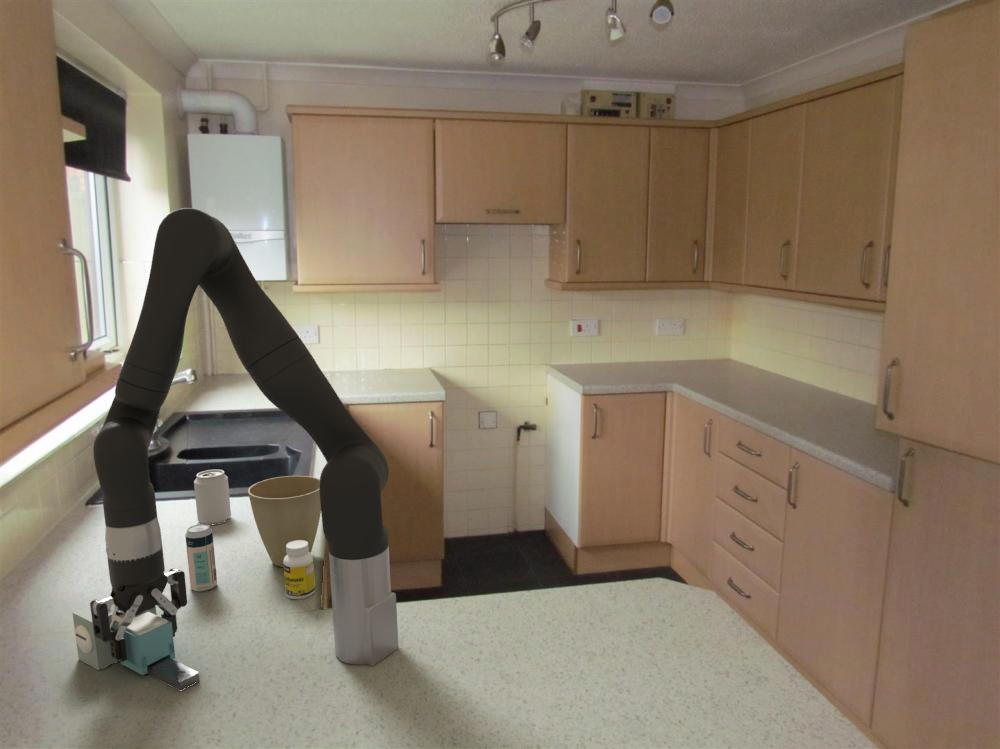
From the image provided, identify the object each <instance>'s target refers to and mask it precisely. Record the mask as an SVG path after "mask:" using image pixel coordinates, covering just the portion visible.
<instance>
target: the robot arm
mask: <svg viewBox="0 0 1000 749" xmlns="http://www.w3.org/2000/svg"><path fill="white" fill-rule="evenodd" d="M250 269H251V268H249V266H248V264H247V262H246V260H245V258H244V257H243V255H242V253H241V252H240V249H239V248H238V246H237V243H236V241H235V239H234V237H233V235H232V233H231V232H230V230H229V229H228V228H227V226H226V225H225V224H224V223H223V222H221V220H219V219H218V218H216V217H214V216H212V215H210V214H209V213H207V212H205V211H203V210H200V209H197V208H192V207H183V208H179V209H175V210H173V211H171V212H170V213H168V214H167V215H166V216H165V217H164V218H163V219H162V221H161V222H160V224H159V226H158V229H157V232H156V235H155V240H154V247H153V254H152V258H151V265H150V271H149V277H148V283H147V285H146V290H145V295H144V298H143V303H142V307H141V311H140V314H139V318H138V321H137V324H136V328H135V331H134V333H133V336H132V339H131V342H130V344H129V348H128V351H127V354H126V356H125V359H124V361H123V364H122V366H121V369H120V372H119V375H118V378H117V381H116V385H115V390H114V394H115V395H114V397H113V401H112V403H111V405H110V407H109V411H108V412H107V416H106V418H105V421H104V423H103V424H102V427H101V429H100V431H99V432H98V433H97V435H96V437H95V439H94V442H93V448H92V449H93V460H94V466H95V470H96V475H97V478H98V483H99V486H100V489H101V492H102V505H103V506H102V507H103V515H104V523H105V525H104V526H105V531H104V532H105V535H104V537H105V539H104V540H105V541H104V542H105V552H106V556H107V558H106V559H107V565H108V572H109V573H108V574H109V580H110V584H111V592H110V595H109V596H108V597H106V598H103V599H101V600H98V599H93V600H91V602H90V603H89V606H90V608H91V615H92V623H93V630H94V636H95V637H96V638H98V639H100V640H102V641H104V642H108V641H109V642H110V650H111V656H112V657H113V658H115V659H116V660H118V662H123V661H125V660H127V653H126V644H125V638H123V636H124V634H125V631H126V629H127V627H128V625H130V624H131V623H132V620H133V618H134V616H137V615H139V614H141V613H142V612H144V611H145V610H150V609H152V608H155V605H156V607H158V609H160V610H161V611H162V612H163V613H161V614H160V617H161V618H164V619H166V620H168V621H170V622H172V631H173V638H174V637H175V636H176V633H177V632H178V623H177V613H178V610H180V609H181V608H183V607H184V608H185V607H186V606H187V604H188V595H187V585H186V574H185V572H184V571H182V570H180V569H178V568H175V567H171V568H170V569H169V571H168V572H166V573H165V568H166V566H165V559H164V550H163V549H164V548H163V539H162V531H161V526H160V522H159V518H158V512H157V504H156V503H157V501H156V493H155V489H154V485H153V483H151V479H150V477H151V476H150V469H149V468H150V467H149V466H150V465H149V452H148V451H149V448H150V445H151V442H152V438H153V435H154V433H155V432H154V431H155V429H156V425H157V422H158V418H159V416H160V412H161V409H162V406H163V405H164V403H165V401H166V399H167V397H168V395H169V391H170V389H171V387H172V384H173V380H174V378H175V376H176V373H177V369H178V367H179V363H180V359H181V356H182V351H183V346H184V345H183V344H184V338H185V337H184V336H185V331H186V330H185V329H186V324H187V317H188V313H189V309H190V306H191V303H192V300H193V297H194V296H195V293H196V291H197V289H198V286H199V287H200V288H201V289H202V291H203V292H204V294H206V297H208V298H209V300H210V301H211V302H212V304H213V305H214V307H215V308H216V310H217V311H218V313H219V314H220V316H221V319H222V321H223V324H224V326H225V329H226V331H227V334H228V336H229V339H230V341H231V344H232V346H233V349H234V351H235V353H236V355H237V356H238V359H239V361H240V362H241V364H242V365H243V367H244V369H245V370H246V372H247V373H248V375H250V377H251V380H252V381H253V382H254V384H256V387H258V389H259V391H260V392H261V393H262V394H263V396H265V397H266V399H267V400H268V401H269V402H270V403H272V405H273V406H275V408H277V409H278V410H280V411H281V412H282V413H284V414H285V415H286V416H287V417H289V418H290V419H292V420H293V421H294V422H296V424H298V425H299V426H300V427H301V428H302V429H303V430H305V432H306V433H307V434H308V436H310V438H311V440H313V442H314V443H315V444H316V446H317V448H318V449H319V450H320V452H321V454H322V456H323V457H324V460H326V464H325V466H324V467H323V468H322V470H321V473H320V477H319V479H320V485H319V490H320V504H321V514H320V515H321V522H322V530H323V535H324V538H325V539H326V541H327V547H328V557H329V559H328V560H329V573H330V574H329V577H330V594H331V607H332V620H333V622H332V624H333V636H334V637H333V638H334V651H335V656H336V658H337V659H338V660H340V661H341V662H343V663H346V664H350V665H369V666H371V667H373V666H375V665H376V664H378V663H379V662H380V661H383V659H385V658H386V657H388V656H389V655H390V654H392V653H394V652H395V651H397V650H398V649H399V632H398V631H399V629H398V614H397V613H398V610H397V608H398V607H397V595H396V592H392V589H391V587H392V586H391V569H390V546H389V531H388V529H387V527H386V526H385V525H384V522H383V521H384V520H383V511H382V510H383V509H382V492H383V490H384V489H385V487H386V486H387V483H388V480H389V476H390V470H389V463H388V460H387V459H386V458H387V457H386V456H385V455H384V453H383V451H382V450H381V449H380V448H379V447H378V445H377V444H376V443H375V441H373V440H372V438H371V437H370V436H369V435H368V434H367V433H366V431H365V430H364V429H363V428H362V426H361V425H360V424H359V423H358V422H357V421H356V420H355V418H354V417H353V416H352V415H351V413H350V412H349V411H348V409H347V408H346V406H345V405H344V404H343V402H342V400H341V398H340V397H339V395H338V393H337V391H336V390H335V389H334V387H333V386H332V384H331V383H330V381H329V380H328V378H327V377H326V374H324V372H323V371H322V369H321V368H320V366H319V365H318V363H317V361H316V359H315V358H314V357H313V355H312V354H311V351H310V350H309V349H308V347H307V346H306V344H305V343H304V342H303V340H302V339H301V337H300V336H299V335H298V333H297V332H296V330H295V329H294V328H293V326H292V325H291V323H289V321H288V320H287V318H286V317H285V316H284V315H283V313H282V312H281V311H280V309H279V308H278V307H277V306H276V305H275V303H274V302H273V301H272V299H270V297H269V296H268V294H266V293H265V291H264V289H262V287H261V286H260V284H259V283H258V282H257V280H256V278H255V276H254V275H253V273H252V272H251V270H250ZM167 584H168V585H169V589H170V598H171V599H169V598H168V597H167V596H165V595H164V594H163V592H164V591H165V590H166V586H167ZM113 604H114V605H116V608H115V610H114V612H113V615H112V622H111V624H109V616H108V613H110V612H111V606H112V605H113ZM123 612H125V613H126V614H125V616H124V617H123Z"/></svg>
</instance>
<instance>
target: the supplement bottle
mask: <svg viewBox="0 0 1000 749" xmlns="http://www.w3.org/2000/svg"><path fill="white" fill-rule="evenodd" d="M308 551H309V546H308V542H307V541H304V540H296V541H292V542H289V543H288V544H287V545H286V552H287V555H286V556H285V557H284V560H283V565H284V567H283V573H284V575H283V576H284V589H285V596H286V597H287V598H289V599H291V600H301V599H302V600H303V599H306V598H310V596H313V594H314V593H315V592H316V579H315V577H316V576H315V565H314V564H315V563H314V556H313V554H312V552H311V553H310V552H308Z"/></svg>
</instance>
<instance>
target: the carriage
mask: <svg viewBox="0 0 1000 749" xmlns="http://www.w3.org/2000/svg"><path fill="white" fill-rule="evenodd" d="M123 638H125V644H126V653H127V660H125V661H123V662H120V661H119V662H120V664H121V665H122V666H125V667H127V668H129V669H130V670H132V671H134V672H136V673H138V674H140V676H144V675H145V674H147V673H148V672H147V666H148V665H150V664H152V663H154V662H156V661H158V660H160V659H161V658H163V657H165V656H167V657H169V658H171V659H173V660H175V659H176V650H175V643H174V637H173V631H172V622H170V621H168V620H166V619H164V618H161V616H159V615H155V614H152V613H150V612H146V613H144V614H142V615H140V616H137V617H135V618H133V620H132V623H131V624H130V625H128V627H127V629H126V631H125V634H124V636H123Z"/></svg>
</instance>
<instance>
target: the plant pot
mask: <svg viewBox="0 0 1000 749" xmlns="http://www.w3.org/2000/svg"><path fill="white" fill-rule="evenodd" d="M319 485H320V478H318V477H314V476H308V475H287V476H285V475H284V476H277V477H272V478H268V479H264V480H262V481H261V480H260V481H258V482H256V483H254V484H252V485H250V486H249V488H248V490H247V494H248V498H249V501H250V502H249V503H250V506H251V510H252V515H253V518H254V521H255V525H256V527H257V530H258V533H259V535H260V538H261V541H262V543H263V546H264V548H265V550H266V552H267V554H268V556H269V558H270V561H271V563H272V564H273V565H274V566H277V567H281V568H282V567H283V568H284V565H283V560H284V557H285V556H286V555H287V552H286V545H287V544H288V543H289V542H292V541H296V540H304V541H307V542H308V546H309V551H308V552H310V553H311V554H312V550H313V547H314V544H315V540H316V536H317V533H318V532H317V531H318V528H319V525H320V524H319V523H320V518H321V515H322V514H321V504H320V490H319Z"/></svg>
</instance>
